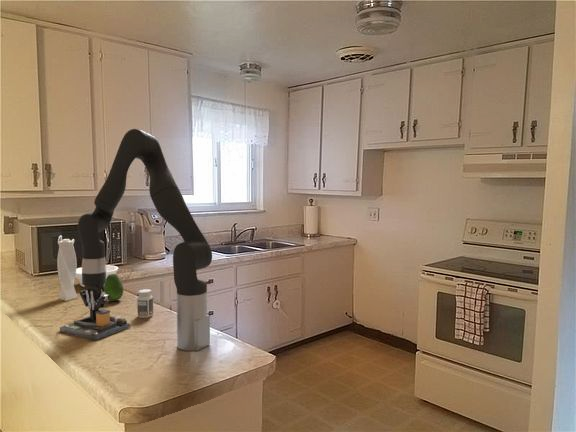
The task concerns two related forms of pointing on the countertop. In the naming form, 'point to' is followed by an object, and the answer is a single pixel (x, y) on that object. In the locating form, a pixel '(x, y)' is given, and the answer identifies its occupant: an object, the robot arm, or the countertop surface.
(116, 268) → the bowl
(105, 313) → the lever
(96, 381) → the countertop surface
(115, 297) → the avocado
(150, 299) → the pill bottle
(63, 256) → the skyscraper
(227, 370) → the countertop surface
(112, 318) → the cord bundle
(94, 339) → the breaker panel
